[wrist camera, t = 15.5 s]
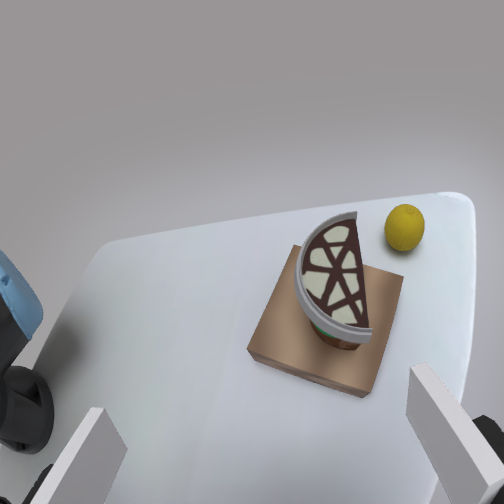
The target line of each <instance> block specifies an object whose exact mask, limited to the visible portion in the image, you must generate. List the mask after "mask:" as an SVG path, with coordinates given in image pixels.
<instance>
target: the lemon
mask: <svg viewBox="0 0 504 504" xmlns="http://www.w3.org/2000/svg"><path fill="white" fill-rule="evenodd" d="M423 233H424V218H423V215H422V214H421V212H420V211H419V210H418V209H417V208H416V207H414V206H412V205H409V204H402V205H399V206H397V207H395V208H394V209H393V210H392V211H391V212H390V214H389V216H388V217H387V219H386V223H385V237H386V239H387V241H388V243H389V244H390V245H391V246H392V247H393V248H394V249H396V250H399V251H408V250H411V249H413V248H414V247H416V246H417V245H418V243H419V242H420V241H421V239H422V236H423Z"/></svg>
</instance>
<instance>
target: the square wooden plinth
mask: <svg viewBox="0 0 504 504" xmlns="http://www.w3.org/2000/svg"><path fill="white" fill-rule="evenodd" d="M301 248H302V247H301V246H297V245H294V246H293V248H292V250H291V253H290V255H289V257H288V259H287V262H286V264H285V266H284V268H283V271H282V273H281V275H280V277H279V280H278V282H277V284H276V286H275V288H274V291H273V293H272V295H271V297H270V299H269V302H268V304H267V306H266V308H265V310H264V313H263V315H262V317H261V319H260V321H259V323H258V326H257V328H256V330H255V332H254V334H253V336H252V338H251V340H250V343H249V345H248V347H247V350H248V352H249V353H250V354H251V356H252V357H253V358H254V360H255V361H258V362H260V363H263V364H266V365H268V366H271V367H273V368H276V369H279V370H281V371H284V372H287V373H289V374H292V375H295V376H298V377H300V378H303V379H306V380H309V381H312V382H315V383H317V384H320V385H323V386H326V387H329V388H332V389H335V390H338V391H341V392H345V393H348V394H351V395H354V396H357V397H361V398H363V397H365V396H366V395H368V394H369V393H371V390H372V387H373V384H374V381H375V378H376V375H377V372H378V369H379V366H380V363H381V360H382V357H383V354H384V350H385V347H386V344H387V340H388V337H389V333H390V330H391V326H392V323H393V319H394V315H395V311H396V307H397V303H398V299H399V295H400V291H401V287H402V282H403V278H404V276H400V275H397V274H394V273H390V272H387V271H384V270H380V269H377V268H373V267H370V266H367V265H363V271H364V282H365V292H366V302H367V313H368V319H369V328H373V330H372V336H371V339H370V342H369V343H362V344H361V345H360V346H359V347H358V348H357V349H356V350H343V349H339V348H336V347H333V346H331V345H329V344H327V343H326V342H324V341H323V340H322V339H321V338H320V337H319V336H318V335H317V334H316V332H315V331H314V330H313V328H312V326H311V323H310V320H309V318H308V316H307V315H306V313H305V312H304V311H303V309H302V307H301V305H300V303H299V301H298V299H297V296H296V292H295V287H294V269H295V265H296V261H297V258H298V255H299V252H300V250H301Z"/></svg>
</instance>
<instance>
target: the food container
mask: <svg viewBox="0 0 504 504" xmlns="http://www.w3.org/2000/svg"><path fill="white" fill-rule="evenodd" d="M356 219H357V211H354V212H347V213H342V214H339V215H336V216H334V217H331V218H330V219H328V220H326V221H324V222H323V223H322V224H320V225H319V226H318V227H316V229H315V230H314V231H313V232H312V233H311V234H310V235H309V236H308V238H307V239H306V241H305V242H304V243H303V245H302V248H301V250H300V252H299V255H298V258H297V261H296V265H295V269H294V287H295V292H296V296H297V299H298V301H299V303H300V305H301V307H302V309H303V311H304V312H305V313H306V315H307V316H308V318H309V320H310V323H311V326H312V328H313V330H314V331H315V332H316V334H317V335H318V336H319V337H320V338H321V339H322V340H323V341H324V342H326V343H327V344H329V345H331V346H333V347H336V348H339V349H343V350H356V349H357V348H358V347H359V346H360V345H361V344H362V343H369V342H370V339H371V336H372V330H373V328H369V319H368V313H367V302H366V292H365V282H364V271H363V264H362V258H361V252H360V245H359V239H358V232H357V226H356Z"/></svg>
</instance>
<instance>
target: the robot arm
mask: <svg viewBox="0 0 504 504" xmlns="http://www.w3.org/2000/svg"><path fill="white" fill-rule="evenodd" d="M42 319H43V309H42V305H41V303H40V301H39V299H38V298H37V296H36V294H35V293H34V291H33V290H32V288H31V287H30V285H29V284H28V283H27V281H26V280H25V279H24V277H23V276H22V275H21V273H20V272H19V271H18V270H17V268H16V267H15V266H14V264H13V263H12V262H11V261H10V260H9V259H8V257H7V256H6V255H5V254H4V253H3V252H2V251H1V250H0V443H1V444H3V445H4V446H6V447H8V448H9V449H11V450H13V451H16V452H19V453H26V454H33V453H36V452H38V451H40V450H41V449H42V448H43V447H44V446H45V445H46V443H47V441H48V440H49V437H50V435H51V431H52V427H53V419H54V411H53V402H52V397H51V394H50V391H49V388H48V386H47V384H46V383H45V381H44V380H43V378H42V377H41V376H40V375H39V374H38V373H36V372H35V371H33V370H30V369H28V368H26V367H22V366H11V364H12V363H13V362H14V360H15V359H16V357H17V356H18V355H19V353H20V352H21V351H22V350H23V348H24V347H25V346H26V344H27V343H28V342H29V341H30V340H31V339H32V335H33V334H34V332H35V331H36V329H37V328H38V326H39V325H40V323H41V322H42ZM406 416H407V418H408V420H409V422H410V423H411V425H412V427H413V429H414V431H415V433H416V435H417V436H418V438H419V440H420V442H421V444H422V446H423V448H424V450H425V452H426V454H427V456H428V458H429V459H430V461H431V463H432V465H433V467H434V469H435V471H436V473H437V475H438V477H439V479H440V481H441V483H442V485H443V487H444V489H445V491H446V493H447V495H448V497H449V500H450V502H451V504H504V432H502V431H501V429H500V427H499V426H498V425H497V424H496V423H495V421H494V420H492V419H490V418H488V417H487V416H484V415H482V416H480V417H478V418H476V419H474V420H471V419H470V417H469V416H468V415H467V413H466V412H465V411H464V409H463V408H462V407H461V405H460V404H459V403H458V401H457V400H456V399H455V398H454V396H453V395H452V394H451V392H450V391H449V390H448V388H447V387H446V386H445V385H444V383H443V382H442V381H441V380H440V378H439V377H438V376H437V375H436V373H435V372H434V371H433V370H432V368H431V367H430V366H429V365H428V363H427V362H425V363H422V364H418V365H415V366H412V367H410V376H409V389H408V400H407V409H406ZM126 452H127V447H126V446H125V444H124V442H123V440H122V439H121V437H120V435H119V434H118V432H117V430H116V428H115V427H114V425H113V423H112V421H111V419H110V417H109V416H108V414H107V412H106V410H105V408H93V407H91V409H90V410H89V412H88V413H87V415H86V416H85V418H84V419H83V421H82V422H81V424H80V425H79V427H78V428H77V430H76V431H75V433H74V434H73V436H72V437H71V439H70V440H69V442H68V444H67V445H66V447H65V448H64V450H63V451H62V453H61V454H60V456H59V458H58V459H57V461H56V462H55V464H50V465H49V466H48V467H47V468H45V469H44V470H43V471H42V473H41V474H40V476H39V478H38V481H36V482H35V484H34V487H32V489H31V490H30V492H29V493H28V495H27V497H26V498H25V500H24V501H23V503H22V504H104V502H105V499H106V497H107V495H108V492H109V490H110V488H111V485H112V483H113V481H114V479H115V476H116V474H117V472H118V470H119V467H120V465H121V463H122V461H123V458H124V456H125V454H126ZM0 504H11V503H10V502H9V501H8V500H7V499H6V498H4V497H0Z"/></svg>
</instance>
